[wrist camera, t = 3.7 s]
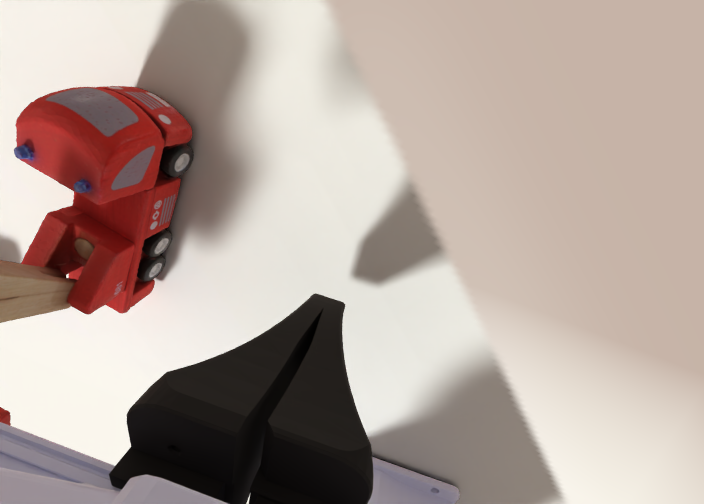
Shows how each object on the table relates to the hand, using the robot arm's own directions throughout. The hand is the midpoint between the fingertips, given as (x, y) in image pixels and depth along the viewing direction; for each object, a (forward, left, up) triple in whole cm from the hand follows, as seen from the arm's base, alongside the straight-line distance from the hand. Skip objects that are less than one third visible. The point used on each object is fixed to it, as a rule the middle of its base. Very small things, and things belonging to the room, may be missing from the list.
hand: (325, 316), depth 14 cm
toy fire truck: (+10, 0, -2) cm, 10 cm away
